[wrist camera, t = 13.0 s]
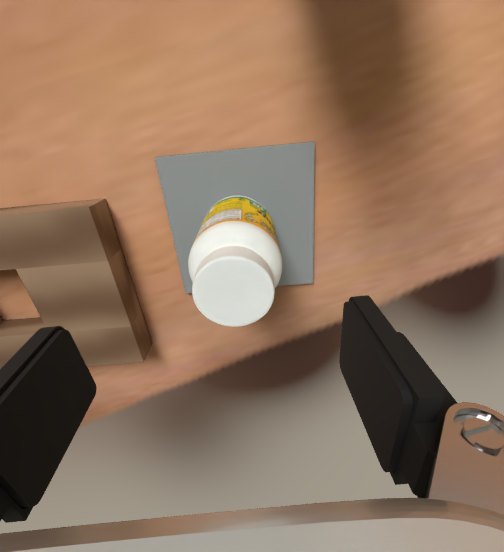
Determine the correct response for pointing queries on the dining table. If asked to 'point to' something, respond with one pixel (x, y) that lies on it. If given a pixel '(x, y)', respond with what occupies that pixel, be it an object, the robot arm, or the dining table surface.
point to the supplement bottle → (235, 262)
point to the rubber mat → (251, 183)
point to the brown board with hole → (73, 281)
